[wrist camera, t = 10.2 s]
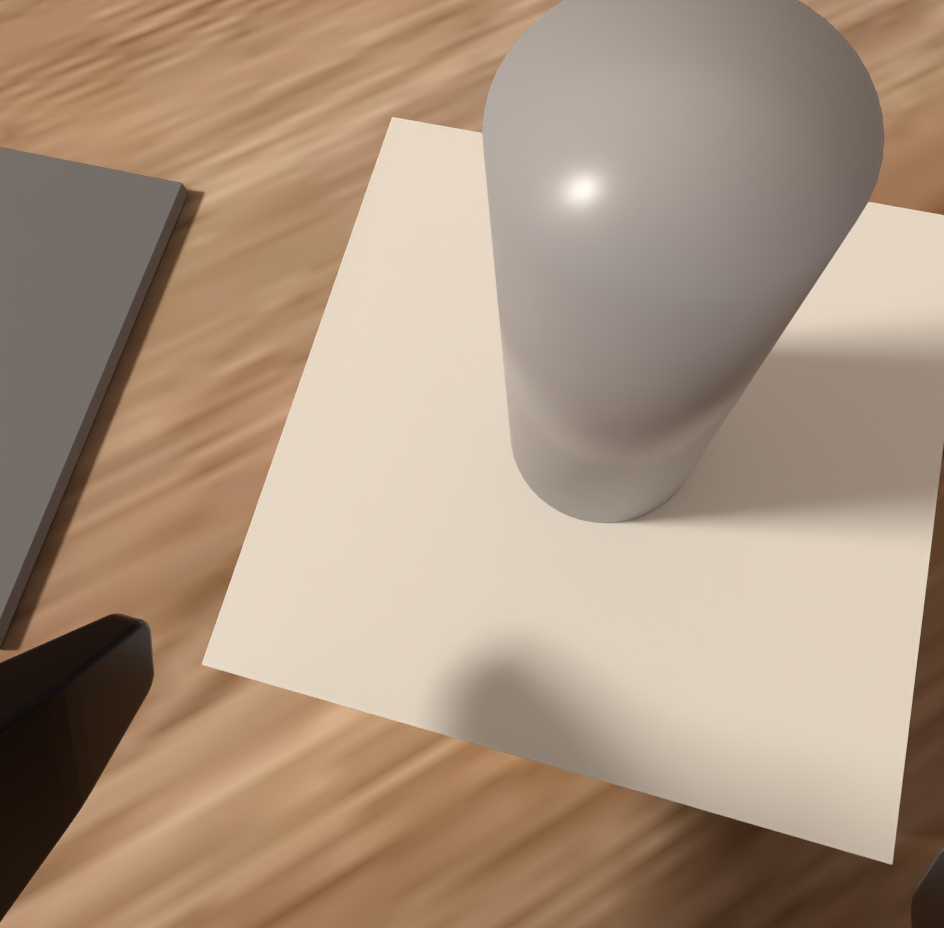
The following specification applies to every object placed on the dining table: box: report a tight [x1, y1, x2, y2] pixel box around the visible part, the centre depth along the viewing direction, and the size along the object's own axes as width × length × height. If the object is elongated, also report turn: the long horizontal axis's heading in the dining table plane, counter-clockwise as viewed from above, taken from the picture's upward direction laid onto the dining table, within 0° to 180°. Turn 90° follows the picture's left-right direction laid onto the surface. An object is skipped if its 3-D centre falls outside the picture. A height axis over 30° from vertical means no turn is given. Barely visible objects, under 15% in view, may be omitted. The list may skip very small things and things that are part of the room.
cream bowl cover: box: [202, 0, 944, 865], centre depth 12 cm, size 11×11×12 cm
